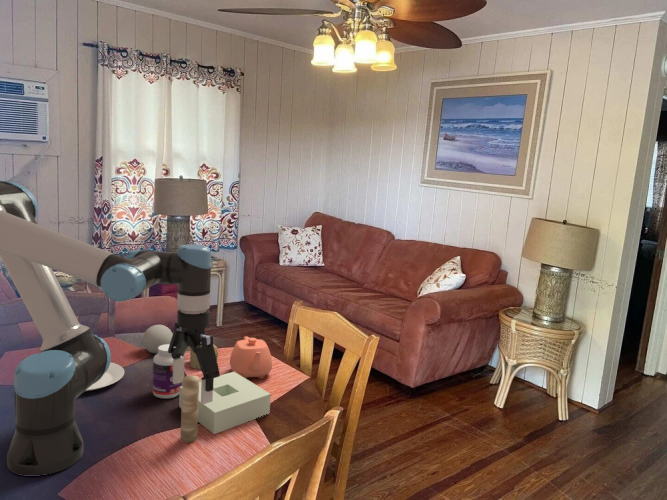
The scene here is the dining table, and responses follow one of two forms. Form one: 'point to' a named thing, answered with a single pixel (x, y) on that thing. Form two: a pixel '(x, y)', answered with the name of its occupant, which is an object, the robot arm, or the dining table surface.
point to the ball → (156, 337)
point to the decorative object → (194, 361)
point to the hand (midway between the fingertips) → (191, 392)
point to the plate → (108, 377)
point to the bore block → (231, 403)
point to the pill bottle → (164, 374)
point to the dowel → (189, 409)
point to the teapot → (251, 358)
